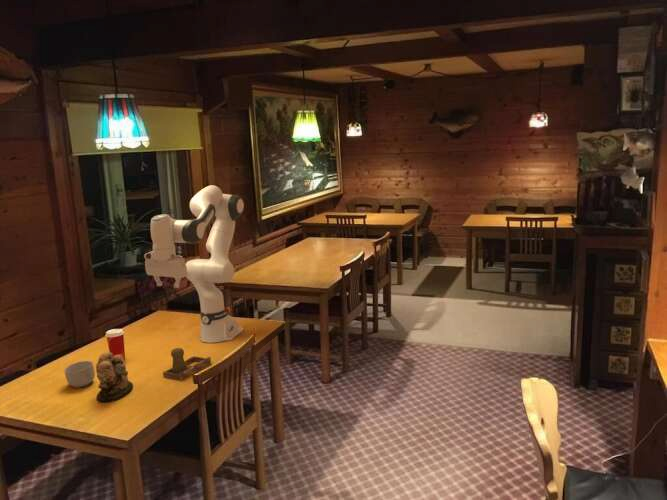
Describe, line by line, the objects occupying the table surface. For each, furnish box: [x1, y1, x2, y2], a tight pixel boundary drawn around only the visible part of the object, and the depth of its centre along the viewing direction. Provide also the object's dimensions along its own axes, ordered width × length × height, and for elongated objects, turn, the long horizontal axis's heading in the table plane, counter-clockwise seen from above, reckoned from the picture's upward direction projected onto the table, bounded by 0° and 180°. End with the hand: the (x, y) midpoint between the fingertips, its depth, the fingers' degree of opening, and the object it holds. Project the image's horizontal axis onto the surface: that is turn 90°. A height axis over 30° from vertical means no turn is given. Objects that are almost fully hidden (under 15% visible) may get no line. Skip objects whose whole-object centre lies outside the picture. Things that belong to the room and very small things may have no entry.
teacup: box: [63, 359, 96, 388], centre depth 227 cm, size 14×11×8 cm
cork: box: [170, 347, 186, 375], centre depth 230 cm, size 6×6×11 cm
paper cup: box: [105, 328, 126, 362], centre depth 247 cm, size 8×8×14 cm
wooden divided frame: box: [162, 355, 212, 382], centre depth 235 cm, size 18×10×4 cm, turn 152°
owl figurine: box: [95, 351, 134, 403], centre depth 215 cm, size 18×12×17 cm, turn 177°
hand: (168, 286), depth 234 cm, fingers open, 8 cm apart
